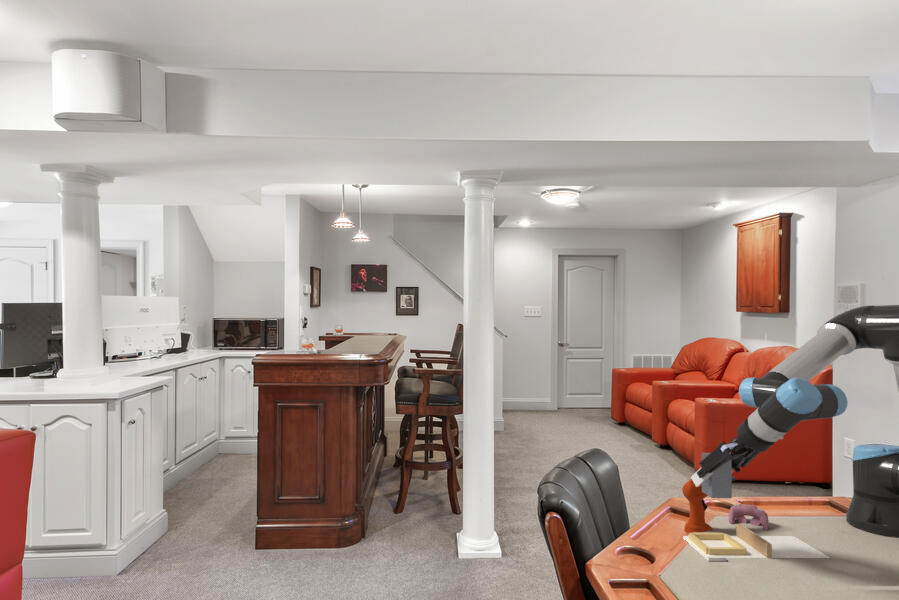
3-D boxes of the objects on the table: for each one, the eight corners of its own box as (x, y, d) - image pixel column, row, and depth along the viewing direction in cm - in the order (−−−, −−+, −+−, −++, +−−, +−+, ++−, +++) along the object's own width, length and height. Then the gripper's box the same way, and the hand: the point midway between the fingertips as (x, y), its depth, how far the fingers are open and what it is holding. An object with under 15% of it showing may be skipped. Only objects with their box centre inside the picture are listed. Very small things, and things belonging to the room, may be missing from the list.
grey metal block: (720, 491, 137) (720, 452, 138) (731, 498, 132) (731, 457, 133) (701, 491, 137) (701, 452, 137) (712, 498, 132) (711, 457, 132)
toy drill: (747, 523, 148) (741, 470, 148) (693, 539, 142) (688, 484, 142) (733, 517, 153) (727, 465, 153) (680, 532, 147) (675, 479, 147)
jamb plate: (793, 539, 141) (793, 523, 142) (829, 561, 128) (829, 544, 129) (683, 538, 141) (683, 523, 141) (708, 561, 128) (708, 544, 128)
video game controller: (768, 535, 148) (768, 509, 151) (768, 532, 144) (768, 506, 147) (728, 527, 153) (729, 502, 156) (727, 525, 150) (728, 499, 153)
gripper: (741, 446, 118) (684, 498, 132) (801, 440, 125) (740, 490, 139) (721, 418, 123) (668, 471, 137) (779, 414, 130) (723, 464, 144)
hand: (704, 480), depth 138 cm, fingers closed on grey metal block, 6 cm apart
